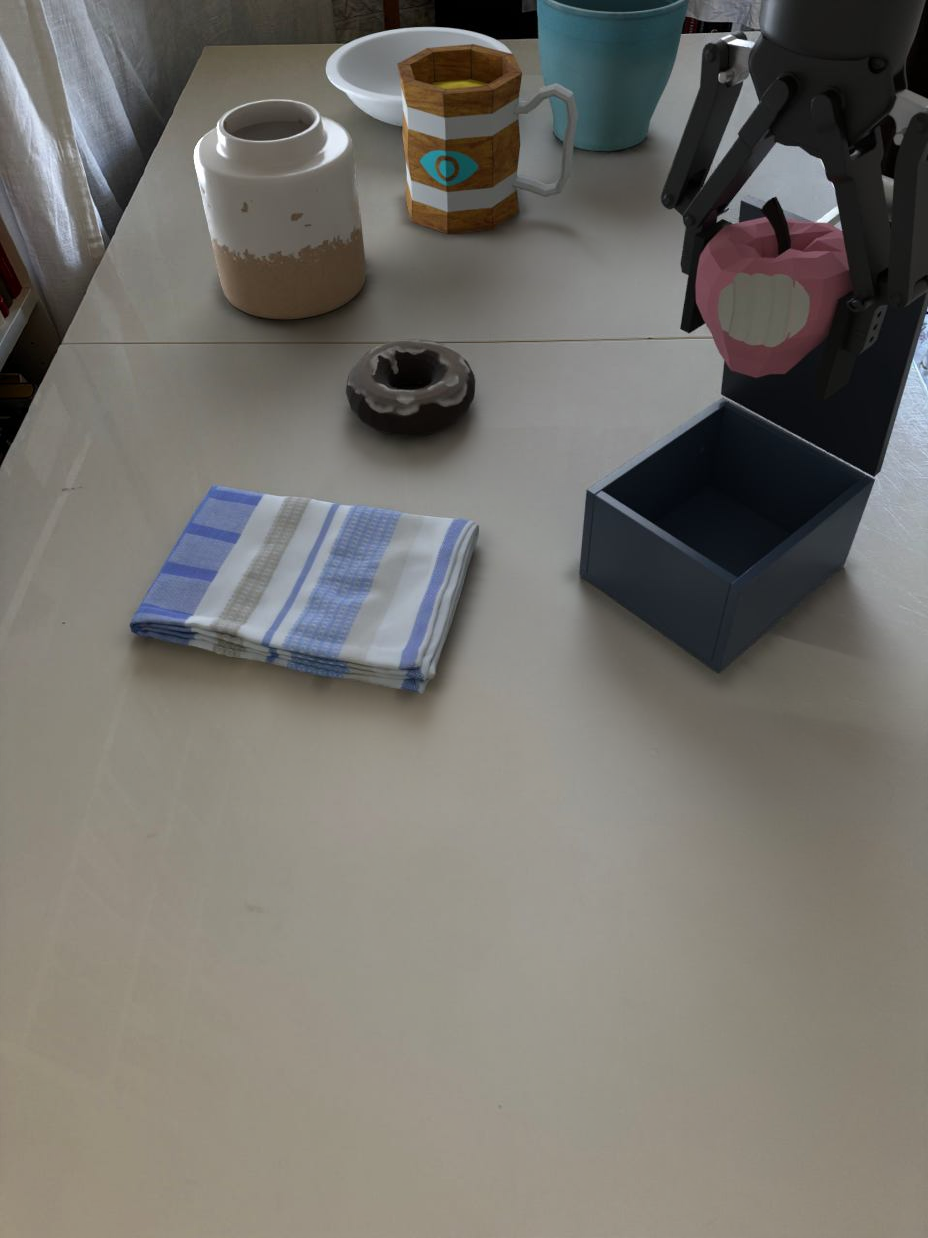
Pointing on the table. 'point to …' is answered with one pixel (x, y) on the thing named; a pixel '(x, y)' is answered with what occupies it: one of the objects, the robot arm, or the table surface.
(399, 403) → the donut
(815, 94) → the robot arm
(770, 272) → the apple
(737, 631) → the blue storage box
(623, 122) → the flower pot
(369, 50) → the soup bowl
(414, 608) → the dish towel
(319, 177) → the vase
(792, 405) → the lid
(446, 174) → the mug
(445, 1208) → the table surface
